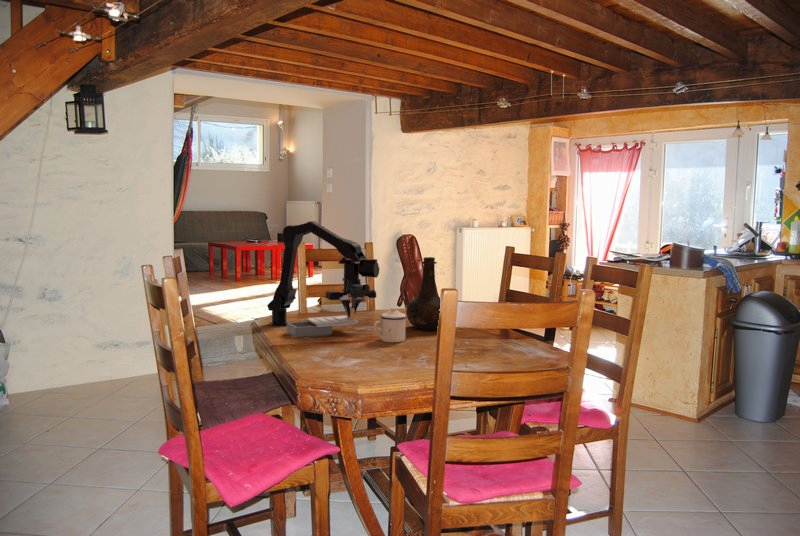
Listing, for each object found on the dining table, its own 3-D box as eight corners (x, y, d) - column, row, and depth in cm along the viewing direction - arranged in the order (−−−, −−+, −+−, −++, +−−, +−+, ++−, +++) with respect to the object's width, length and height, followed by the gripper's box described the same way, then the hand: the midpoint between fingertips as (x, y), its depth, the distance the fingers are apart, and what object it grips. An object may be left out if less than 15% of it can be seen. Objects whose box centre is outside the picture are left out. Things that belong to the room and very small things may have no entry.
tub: (286, 333, 236) (286, 322, 235) (322, 330, 242) (322, 320, 242) (295, 338, 227) (295, 327, 227) (332, 335, 233) (332, 324, 233)
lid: (306, 321, 240) (307, 307, 239) (346, 318, 247) (346, 305, 246) (317, 326, 229) (317, 312, 229) (358, 323, 237) (358, 310, 236)
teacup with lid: (399, 336, 234) (400, 305, 232) (409, 341, 225) (410, 309, 224) (369, 338, 229) (369, 306, 228) (377, 344, 221) (378, 311, 220)
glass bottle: (452, 333, 241) (454, 259, 238) (405, 332, 242) (407, 259, 239) (450, 324, 259) (451, 255, 256) (406, 323, 259) (407, 255, 257)
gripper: (335, 279, 228) (335, 322, 230) (382, 277, 237) (382, 319, 238) (325, 275, 238) (324, 317, 240) (370, 274, 247) (370, 314, 248)
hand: (350, 316), depth 241 cm, fingers closed on lid
